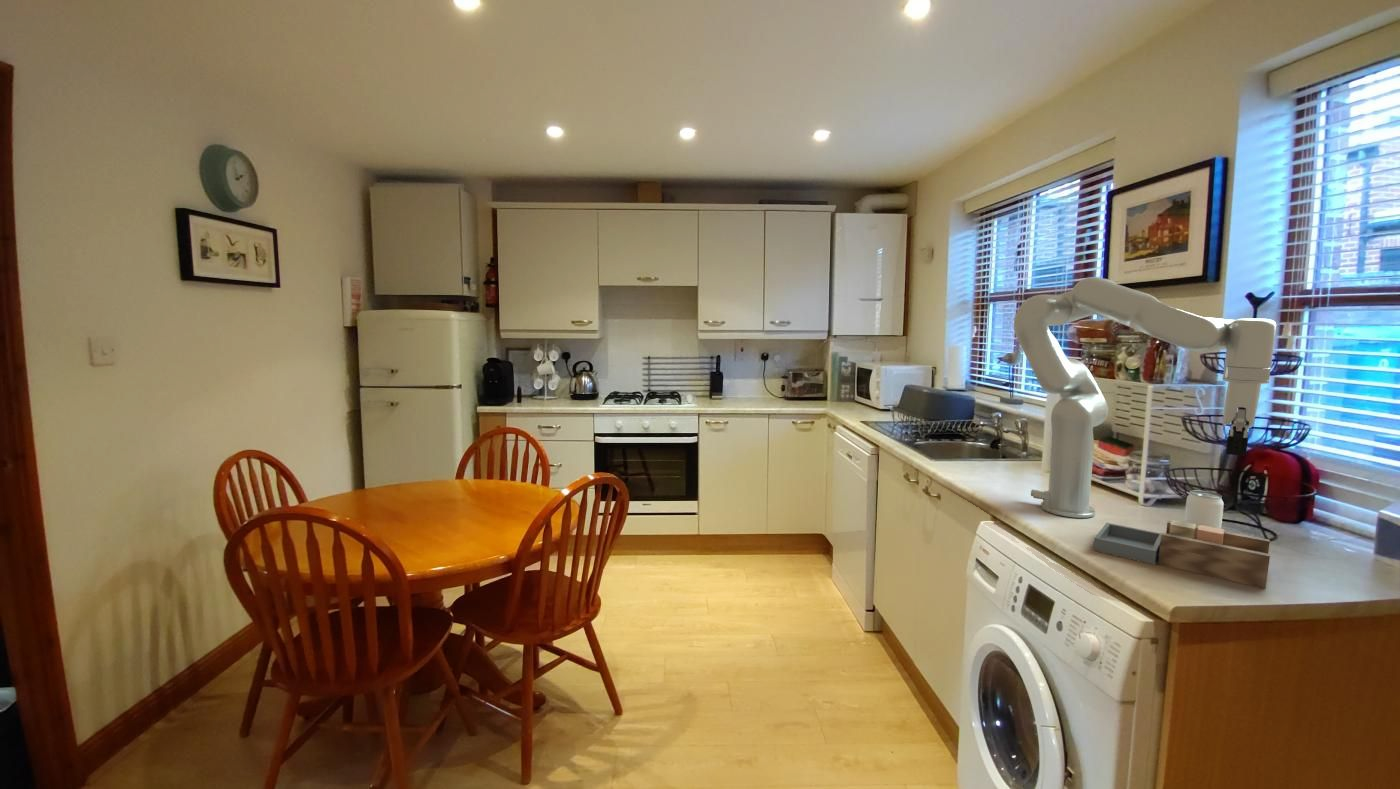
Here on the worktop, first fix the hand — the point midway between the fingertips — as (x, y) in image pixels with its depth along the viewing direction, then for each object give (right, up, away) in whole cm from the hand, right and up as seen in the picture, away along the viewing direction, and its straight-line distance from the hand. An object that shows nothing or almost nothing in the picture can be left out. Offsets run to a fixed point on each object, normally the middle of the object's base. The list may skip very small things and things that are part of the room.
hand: (1235, 451), depth 131 cm
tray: (-23, -22, +2) cm, 32 cm away
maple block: (-16, -19, -5) cm, 26 cm away
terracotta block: (-13, -20, -8) cm, 25 cm away
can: (-4, -22, +5) cm, 23 cm away
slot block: (-12, -24, -8) cm, 28 cm away
